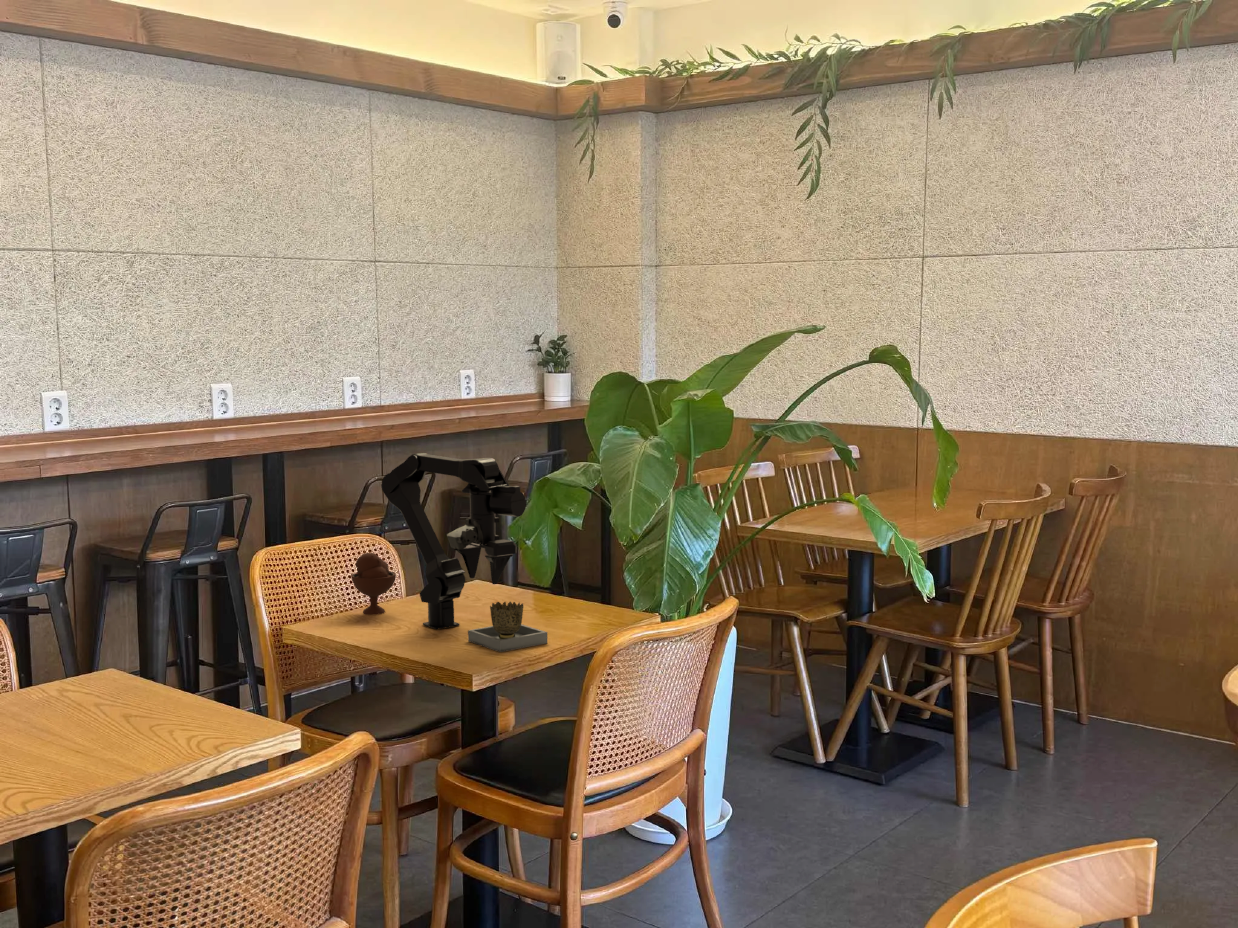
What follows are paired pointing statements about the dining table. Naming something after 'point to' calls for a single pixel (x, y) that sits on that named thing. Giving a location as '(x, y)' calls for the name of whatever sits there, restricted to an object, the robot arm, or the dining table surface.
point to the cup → (506, 618)
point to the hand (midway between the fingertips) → (483, 581)
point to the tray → (521, 640)
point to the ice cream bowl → (372, 580)
